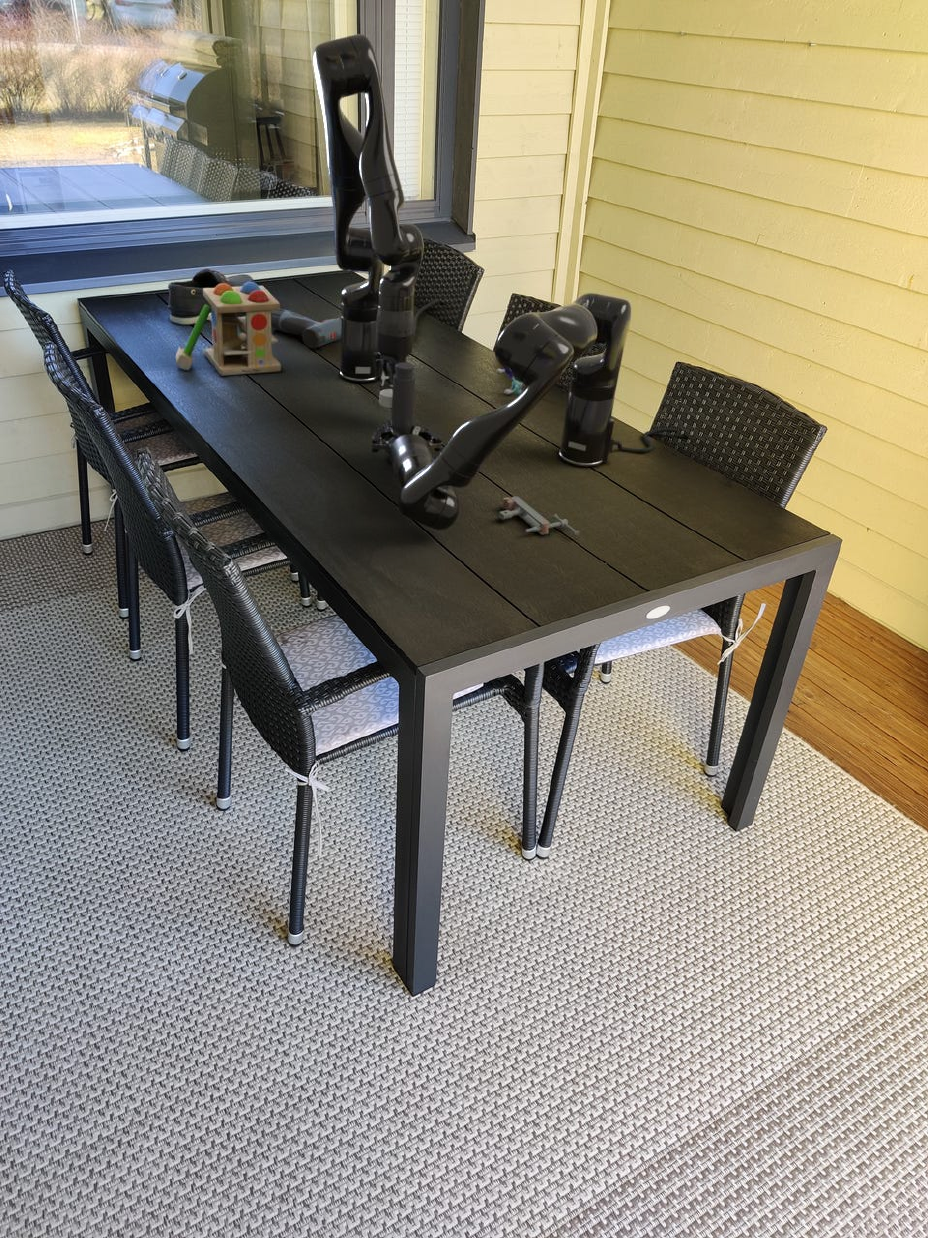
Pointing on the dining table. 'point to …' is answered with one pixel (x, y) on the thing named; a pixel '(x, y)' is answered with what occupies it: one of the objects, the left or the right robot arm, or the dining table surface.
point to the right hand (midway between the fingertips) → (399, 424)
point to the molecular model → (515, 384)
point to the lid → (385, 398)
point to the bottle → (403, 398)
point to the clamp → (530, 516)
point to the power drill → (307, 327)
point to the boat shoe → (197, 294)
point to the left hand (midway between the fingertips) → (391, 408)
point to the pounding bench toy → (229, 347)
